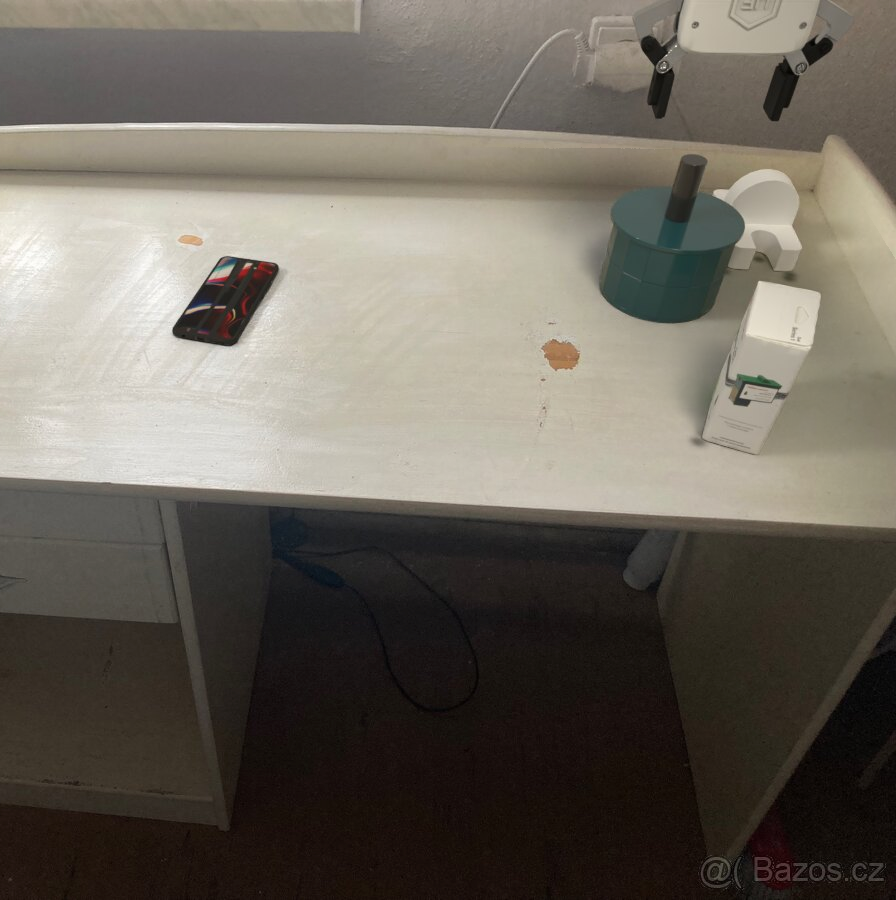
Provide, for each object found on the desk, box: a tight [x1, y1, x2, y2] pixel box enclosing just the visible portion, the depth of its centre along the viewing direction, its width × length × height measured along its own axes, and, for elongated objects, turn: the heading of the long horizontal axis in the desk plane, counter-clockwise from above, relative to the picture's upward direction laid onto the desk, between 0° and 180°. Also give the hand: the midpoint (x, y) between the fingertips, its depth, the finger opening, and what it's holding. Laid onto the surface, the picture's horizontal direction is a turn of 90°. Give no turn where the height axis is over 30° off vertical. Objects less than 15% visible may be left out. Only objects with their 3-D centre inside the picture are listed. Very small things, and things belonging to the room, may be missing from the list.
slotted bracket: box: [711, 168, 803, 272], centre depth 95 cm, size 13×7×8 cm, turn 171°
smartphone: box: [171, 255, 280, 346], centre depth 93 cm, size 7×1×15 cm
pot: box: [599, 224, 736, 324], centre depth 89 cm, size 12×12×8 cm
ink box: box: [701, 280, 822, 455], centre depth 73 cm, size 9×5×12 cm, turn 153°
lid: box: [610, 153, 745, 255], centre depth 84 cm, size 13×13×6 cm
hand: (713, 114), depth 78 cm, fingers open, 9 cm apart
